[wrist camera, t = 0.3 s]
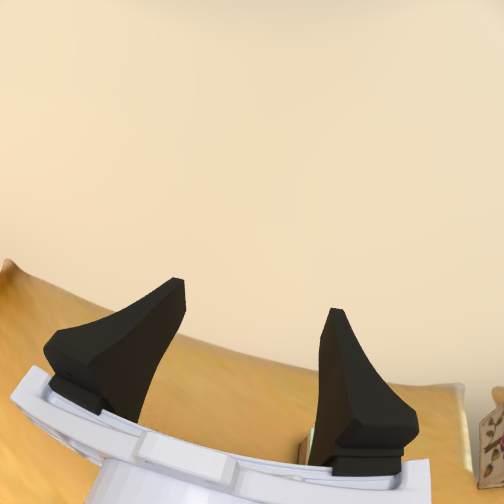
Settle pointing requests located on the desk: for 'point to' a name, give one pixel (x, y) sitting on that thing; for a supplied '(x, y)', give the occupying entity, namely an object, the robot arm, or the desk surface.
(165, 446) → the robot arm
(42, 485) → the desk surface
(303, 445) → the box
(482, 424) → the floral patterned box
